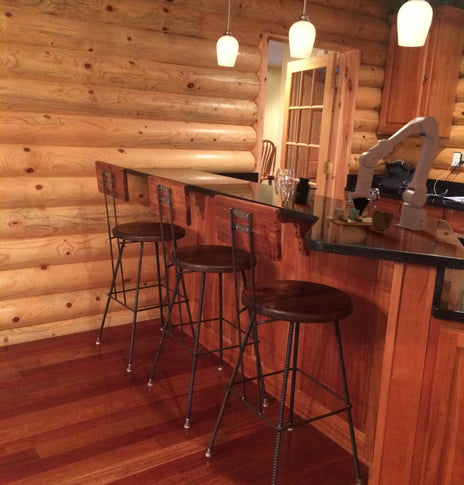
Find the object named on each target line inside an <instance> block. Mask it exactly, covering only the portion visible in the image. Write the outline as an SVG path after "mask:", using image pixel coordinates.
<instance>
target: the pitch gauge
mask: <svg viewBox="0 0 464 485" xmlns="http://www.w3.org/2000/svg"><path fill="white" fill-rule="evenodd" d="M333 210H334V211H333V215H331V216H325V217H324V220H325V221H328V222H332V223H335V224H338V225H340V226H373V225H372V217H369V216H368V215H362V216H363V218H359V217H358V218H355V220H352V219H349V218H348V217H349V215H344V213H345V209H342V208H340V207H339V208H338V207H337V208H334V209H333Z"/></svg>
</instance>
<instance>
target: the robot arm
mask: <svg viewBox="0 0 464 485" xmlns="http://www.w3.org/2000/svg"><path fill="white" fill-rule="evenodd" d="M439 126H440V124H439V122H438V120H437V119H436V118H435V117H434V116H429V115H428V116H417V117H414V119H411V120H410V121H409V122H407V124H405V125H404V126H403V127H402V128H400V129H399V130H398V131H397V132H396V133H394V134H393V135H392V136H390V138H388V139H386V138H385V139H379V140H377V144H375V145H374V146H372V147H370V148H368V149H367V151H365V152H363V153H361V154H360V156H359V158H358V164H359V169H358V172H357V180H356V184H355V191H353V192H347V193H346V198H347V199H352V203H353V207H354V209H358V210H360V211H359V216H363V213H364V211H365V210H366V208H367V206H368V205H369V204H370V203H371V200H377V196H378V195H377V194H376V193H375V194H374V193H371V189H372V183H373V178H374V172H375V171H374V170H375V167H376V166H377V165H378V163H379V161H381V160H383V159H384V158H385V157H386V156H388V155H389V154H391V153H392V152H393V150H394V146H396V145H397V144H399V143H400V142H402V141H403V140H405V139H406V138H407V137H409V136H411V135H415V134H416V135H418V136H420V138H421V139H422V141H423V145H422V149H421V151H420V154H419V155H420V156H419V158H418V161H417V164H416V168H415V171H414V173H413V177H412V180H411V181H410V182H409V184H408V185H407V186H406V189H405V190H404V191H403V193H402V197H401V198H402V200H403V205H402V208H401V209H402V210H401V216H400V221H399V223H396V224H394V226H396V227H399V228H403V229H406V228H407V229H406V230H409V229H410V231H424V230H423V229H425V228H426V223H427V218H428V211H427V210H426V209H423V206H424V205H426V203H427V199H428V198H427V192H428V188H427V181H428V179H429V175H430V173H431V169H432V166H433V163H434V160H435V157H436V154H437V150H438V147H439V144H440V140H441V139H440V132H439V131H440V130H439Z"/></svg>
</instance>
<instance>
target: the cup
mask: <svg viewBox="0 0 464 485" xmlns="http://www.w3.org/2000/svg"><path fill="white" fill-rule="evenodd" d="M394 216H395V214H394V213H392V212H386V211H384V212H383V210H381V211H379V210H374V211H372V217H371V218H372V225H371V226H372V227H373V229H374V233H375V234H377V235H382V236H383V235H385V233H386V231H388V229H389V228H390V227H391V225H392V222H393V218H394Z"/></svg>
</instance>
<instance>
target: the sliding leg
mask: <svg viewBox="0 0 464 485" xmlns="http://www.w3.org/2000/svg"><path fill="white" fill-rule="evenodd" d="M348 211H349V212H348V216H349V217H348V218H349V219H352V220H355V218H358V217H359V218H363V216H364V215H362V216H359V211H360V210H358V209H355V208H349V210H348Z"/></svg>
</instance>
